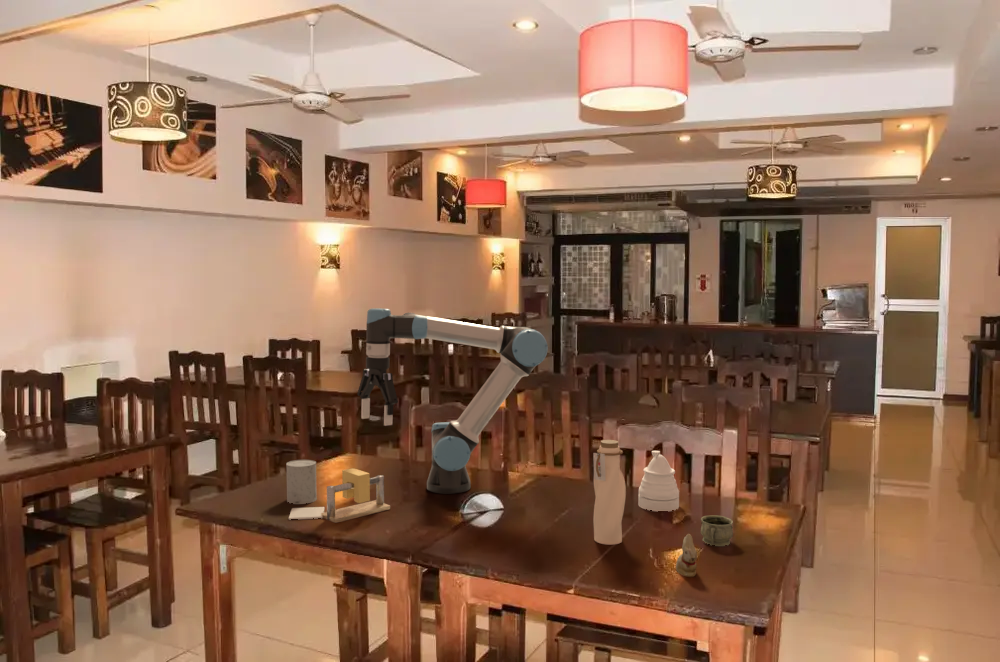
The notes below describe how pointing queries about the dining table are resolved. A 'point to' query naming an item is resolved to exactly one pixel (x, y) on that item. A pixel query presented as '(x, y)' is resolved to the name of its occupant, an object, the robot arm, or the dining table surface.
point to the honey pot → (658, 486)
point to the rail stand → (357, 509)
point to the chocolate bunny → (687, 558)
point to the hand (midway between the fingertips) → (376, 421)
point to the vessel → (716, 530)
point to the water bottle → (608, 493)
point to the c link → (357, 485)
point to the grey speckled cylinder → (301, 481)
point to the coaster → (306, 513)
